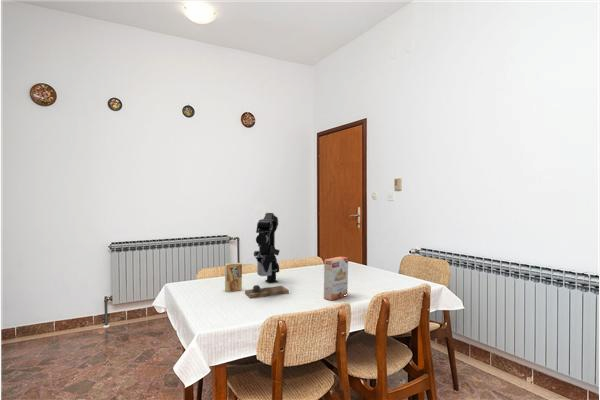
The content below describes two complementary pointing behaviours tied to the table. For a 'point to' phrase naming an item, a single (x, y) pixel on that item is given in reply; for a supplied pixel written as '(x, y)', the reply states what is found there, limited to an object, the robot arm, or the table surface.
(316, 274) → the table surface
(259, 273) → the metal cube with knob
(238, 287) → the candy box
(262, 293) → the brown flat block
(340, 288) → the cracker box
